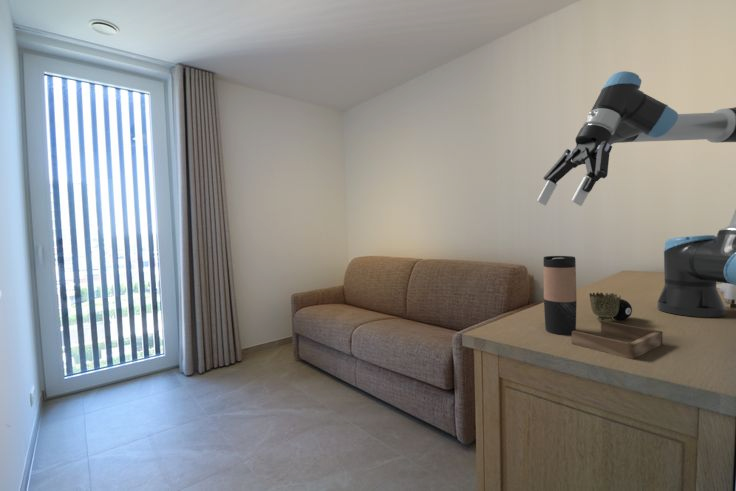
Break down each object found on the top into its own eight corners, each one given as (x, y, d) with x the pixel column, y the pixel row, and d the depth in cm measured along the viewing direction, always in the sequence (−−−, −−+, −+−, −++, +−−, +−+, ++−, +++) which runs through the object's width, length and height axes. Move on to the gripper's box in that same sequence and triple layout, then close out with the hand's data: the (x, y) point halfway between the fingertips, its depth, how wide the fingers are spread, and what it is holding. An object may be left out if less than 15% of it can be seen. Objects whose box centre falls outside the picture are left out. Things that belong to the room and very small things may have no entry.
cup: (626, 325, 94) (626, 297, 94) (596, 325, 96) (596, 297, 96) (612, 318, 102) (612, 291, 101) (585, 318, 103) (585, 292, 103)
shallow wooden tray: (602, 331, 90) (602, 320, 90) (662, 344, 80) (662, 331, 79) (571, 343, 83) (571, 331, 82) (632, 359, 72) (632, 345, 72)
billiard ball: (620, 322, 98) (620, 301, 97) (601, 317, 103) (601, 297, 103) (637, 320, 99) (637, 300, 99) (617, 315, 105) (617, 296, 104)
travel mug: (575, 328, 94) (574, 255, 93) (578, 336, 87) (577, 258, 86) (543, 326, 97) (542, 255, 97) (545, 333, 91) (543, 258, 90)
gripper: (553, 133, 102) (519, 197, 103) (628, 111, 77) (582, 195, 78) (573, 146, 103) (538, 208, 104) (652, 128, 78) (606, 210, 79)
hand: (557, 203), depth 91 cm, fingers open, 13 cm apart
